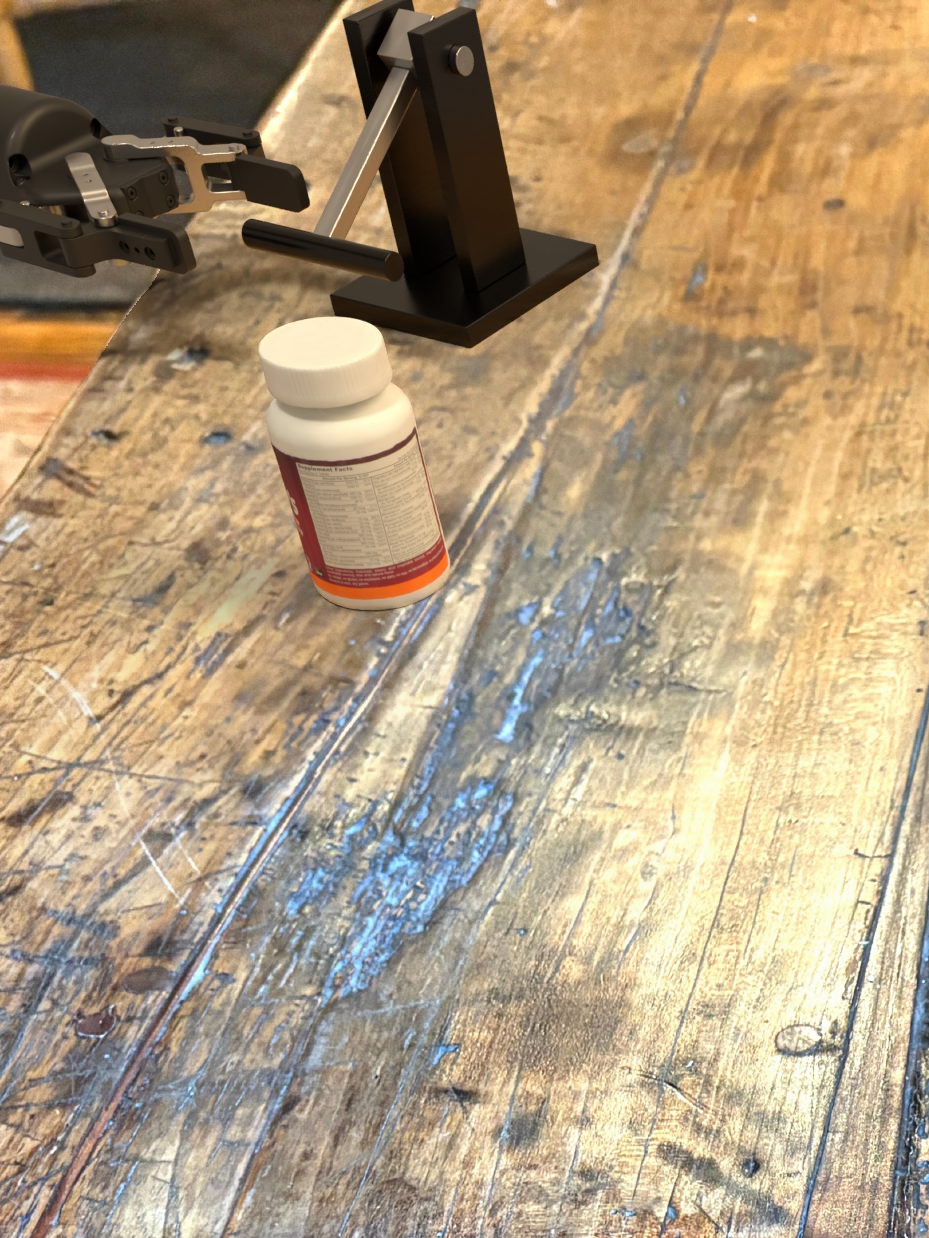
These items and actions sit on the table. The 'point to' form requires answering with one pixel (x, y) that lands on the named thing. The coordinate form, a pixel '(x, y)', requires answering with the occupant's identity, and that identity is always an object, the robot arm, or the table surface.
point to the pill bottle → (352, 465)
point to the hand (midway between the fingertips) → (246, 220)
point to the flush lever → (355, 175)
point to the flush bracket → (450, 194)
